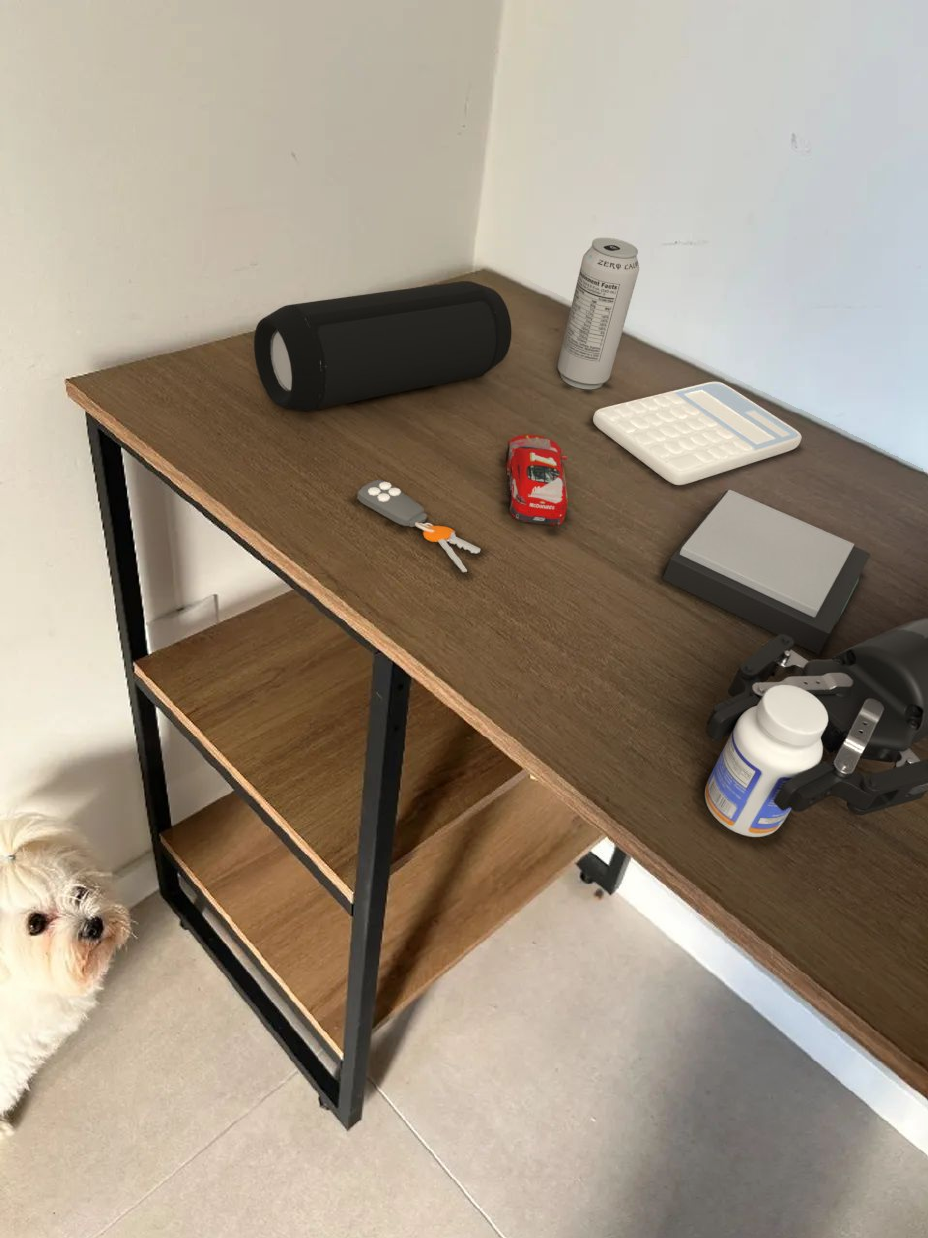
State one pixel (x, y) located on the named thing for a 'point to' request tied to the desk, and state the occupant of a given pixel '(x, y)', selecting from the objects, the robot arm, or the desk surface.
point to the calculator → (696, 431)
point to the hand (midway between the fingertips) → (747, 761)
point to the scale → (768, 569)
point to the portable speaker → (380, 343)
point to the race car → (536, 480)
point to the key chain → (410, 516)
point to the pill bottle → (765, 759)
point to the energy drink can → (598, 312)
